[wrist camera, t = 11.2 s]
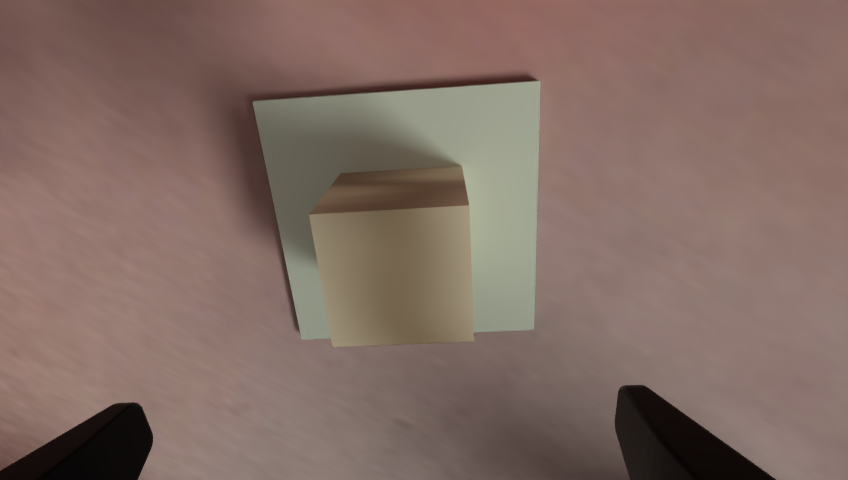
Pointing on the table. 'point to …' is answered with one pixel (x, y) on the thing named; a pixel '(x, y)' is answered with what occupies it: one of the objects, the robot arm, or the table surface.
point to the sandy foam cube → (396, 257)
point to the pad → (412, 149)
